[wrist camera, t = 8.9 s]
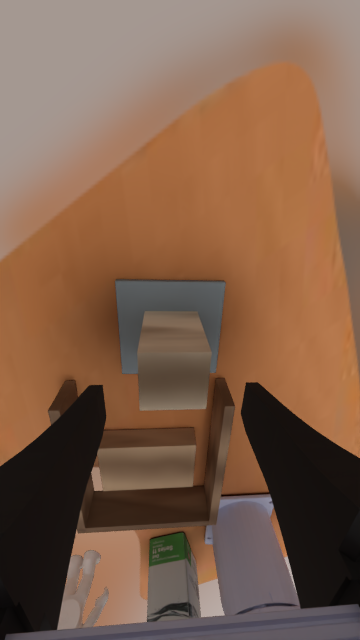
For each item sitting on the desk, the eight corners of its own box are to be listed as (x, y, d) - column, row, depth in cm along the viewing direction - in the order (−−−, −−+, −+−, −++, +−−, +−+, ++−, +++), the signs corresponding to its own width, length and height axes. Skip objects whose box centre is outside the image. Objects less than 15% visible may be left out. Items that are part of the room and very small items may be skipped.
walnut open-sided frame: (210, 489, 28) (216, 525, 25) (87, 495, 27) (77, 533, 24) (224, 378, 22) (235, 406, 19) (65, 380, 21) (47, 410, 18)
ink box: (148, 537, 32) (140, 706, 21) (185, 530, 32) (196, 696, 21) (163, 568, 35) (164, 727, 24) (196, 562, 35) (212, 718, 24)
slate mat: (214, 369, 22) (215, 372, 21) (123, 370, 21) (122, 373, 20) (223, 280, 18) (225, 282, 18) (116, 279, 18) (115, 281, 17)
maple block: (194, 355, 20) (206, 408, 15) (145, 356, 20) (139, 410, 14) (197, 311, 19) (211, 352, 13) (144, 311, 18) (137, 352, 13)
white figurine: (109, 541, 31) (80, 717, 20) (121, 555, 33) (101, 726, 22) (46, 558, 32) (-15, 738, 21) (61, 571, 34) (12, 745, 23)
